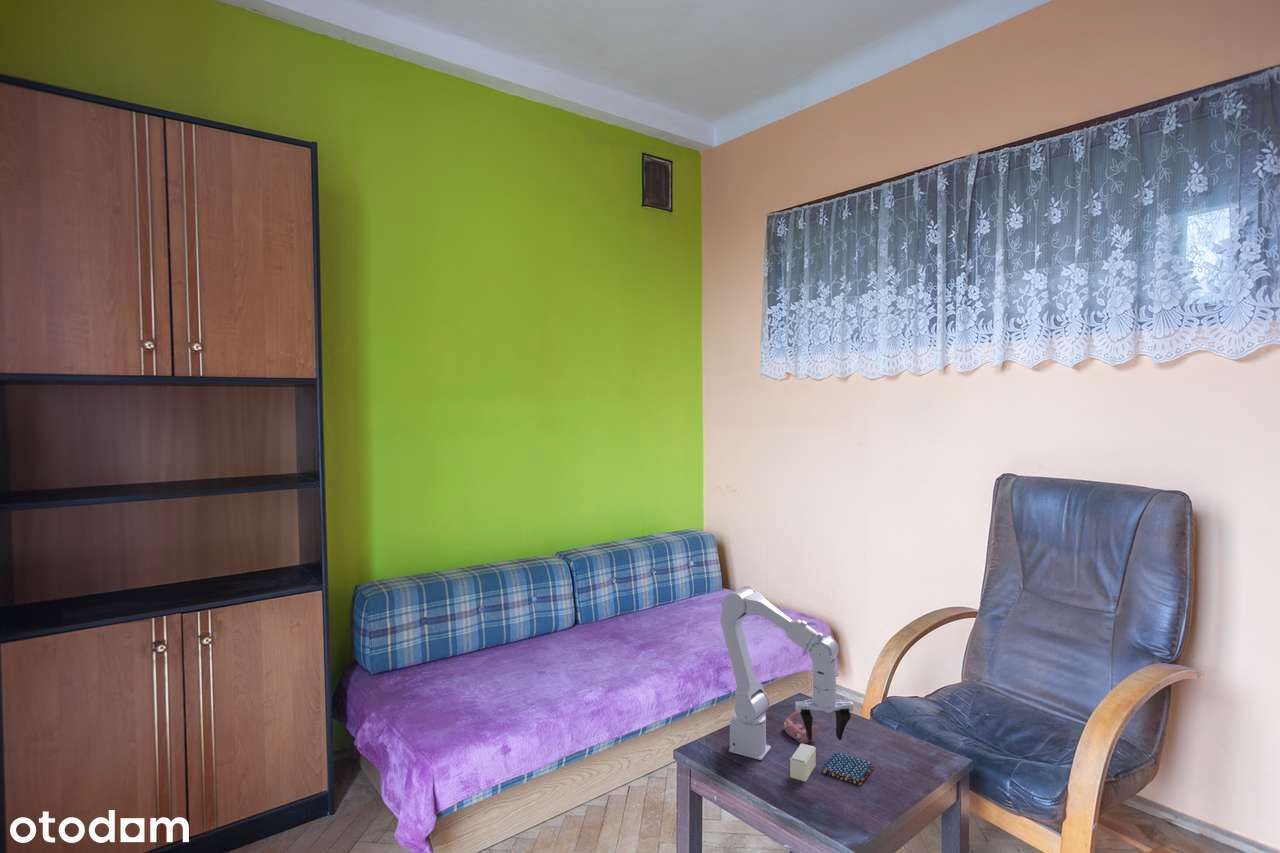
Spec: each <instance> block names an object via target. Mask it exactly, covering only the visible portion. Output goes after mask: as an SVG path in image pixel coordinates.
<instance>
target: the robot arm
mask: <svg viewBox="0 0 1280 853" xmlns="http://www.w3.org/2000/svg"><path fill="white" fill-rule="evenodd" d="M720 605H721V615H720V619H719V620H720V625H721V629H722V634H723V637H724V641H725V646H726V649H727V652H728V656H729V659H730V663H731V667H732V670H733V674H734V675H733V676H734V679H735V682H736V688H735V692H734V696H733V697H734V701H735V704H734V713H735V714H733V715H732V717H731V719H730V723H729V749H728V752H729V753H734V754H737V755H740V756H744V757H747V758H750V759H751V758H752V759H755V760H758V761H762V760H763V759H764V758H765V756H766V755H767V754H768V753H769V752H770V750H771V748H772V746H771V745H769V744H767V723H766V722H767V720H766V719H767V716H766V711H767V710H768V709H769V708H770V704H771V702H770V698H769V696H768V694H767V693H766V692H765V690H764V687H763V684H762V683H761V682H759V681H758V680H757V678H756V674H755V671H754V667H753V663H752V659H751V656H750V652H749V651H750V650H749V649H748V644H747V641H746V637H745V633H744V630H743V626H742V622H743V621H744V619H745V618H746V617H747V616H748V617H749V616H761V617H762V618H764V619H765V620H767V621H768V622H770V623H772V624H773V625H775V626H776V627H778V628H780V629H782V630H783V631H784V632H785V635H786V638H787V639H788V640H789V641H791V642H792V643H794V644H795V645H796V646H798V647H799V648H801V649H802V650H803V651H804V652H806V653H808V654H809V658H810V659H811V661H812V699H811V698H810V699H806V700H802V701H801V700H800V701H795V702H794V704H795V705H794V709H795V712H796V711H797V712H799V713H800V716H801V719H802V721H803V722H802V723H803V724H804V729H806V734H807V738H808V740H809V741H812V740H813V738H812V727H813V719H814V717H813V715H812V712H820V711H822V712H824V713H833V711H834V712H835V722H836V724H835V725H836V728H835V735H836V738H837V740H838V741H842V739H843V735H844V731H845V728H846V727H847V724H848V722H849V721H850V720H851V717H852V716H851V712H854V703H853V702H852V701H851V700H842V699H837V659H836V657H837V656H838V655H839V652H840V647H839V644H838V642H837V640H836V639H834V637H833V636H830V635H824V634H823V633H822V632H818V631H817V630H815V629H814V628H812V627H810V626H809V625H808V622H807V621H806V620H801V619H795V620H793V619H791V618H790V617H789V616H788V615H786V614H785V613H784V612H782V611H781V610H780V609H778V608H777V607H776V606H775V605H773V604H772V603H771V602H769V601H768V600H767V599H766V598H765V597H764V596H763V594H762V593H761V592H759V591H757V590H756V589H754V588H753V587H752V586H747V585H746V586H743V587H741V588H740V589H738V590H736V591H734V592H730V593H728V594H727V595H726V596H725V597H724V599H722V601H721V604H720Z"/></svg>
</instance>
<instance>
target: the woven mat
mask: <svg viewBox="0 0 1280 853" xmlns="http://www.w3.org/2000/svg"><path fill="white" fill-rule="evenodd" d="M821 768H822V769H821V771H822V773H823V774H828V775H829V776H832V777H835V776H836V778H840V780H842V781H843V780H844V781H849V782H850V783H851V782H853V784H858V786H861V785H862V784H863V782H865V781H866V779H867V778H868V776H869V774H872V771H873V769H874V765H873V763H872V762H870V761H867V760H862V759H859V758H856V757H852V756H850V755H846V754H842V753H840V752H837V753H836V752H835V753H833V755H831V756H830V757H829V758H828V760H826V762H824V765H822V766H821Z"/></svg>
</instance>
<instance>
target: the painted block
mask: <svg viewBox="0 0 1280 853" xmlns="http://www.w3.org/2000/svg"><path fill="white" fill-rule="evenodd" d="M816 753H817V748H816V747H815V746H813V745H809V744H807V743H800V744H799V746H798V747H797V749H796V750H795V752H794V753H793V754H792V756H791V757H790V759H789V777H790V778H791V779H795V780H799V781H802V782H807V781H808V779H809V777H810V775H811V774H812V773H813V771H814V769H815V768H816V765H817V760H816V759H817V754H816Z"/></svg>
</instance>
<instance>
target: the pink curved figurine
mask: <svg viewBox="0 0 1280 853" xmlns="http://www.w3.org/2000/svg"><path fill="white" fill-rule="evenodd" d="M800 716H801V714H800V712H797V711H796V710H795V711H794V712H792V713H791V714H790V715H789V716H788V717H787V718H786V719H785V720H784V722H783V730H784V731H785V732H786V734H787V735H789V737H791V738H793V739H794V740H796V741H797V742H798V743H800V744H801V743H802V744H808V742H809V741H810V740H808V738H807V734H806V729H805V728H803V724H802V723H796V722H797V721H798V719H799V718H800ZM818 732H819V726H818V725H814V726H813V725H812V739H813V738H814V737H815V736H816V735H817V734H818Z"/></svg>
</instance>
